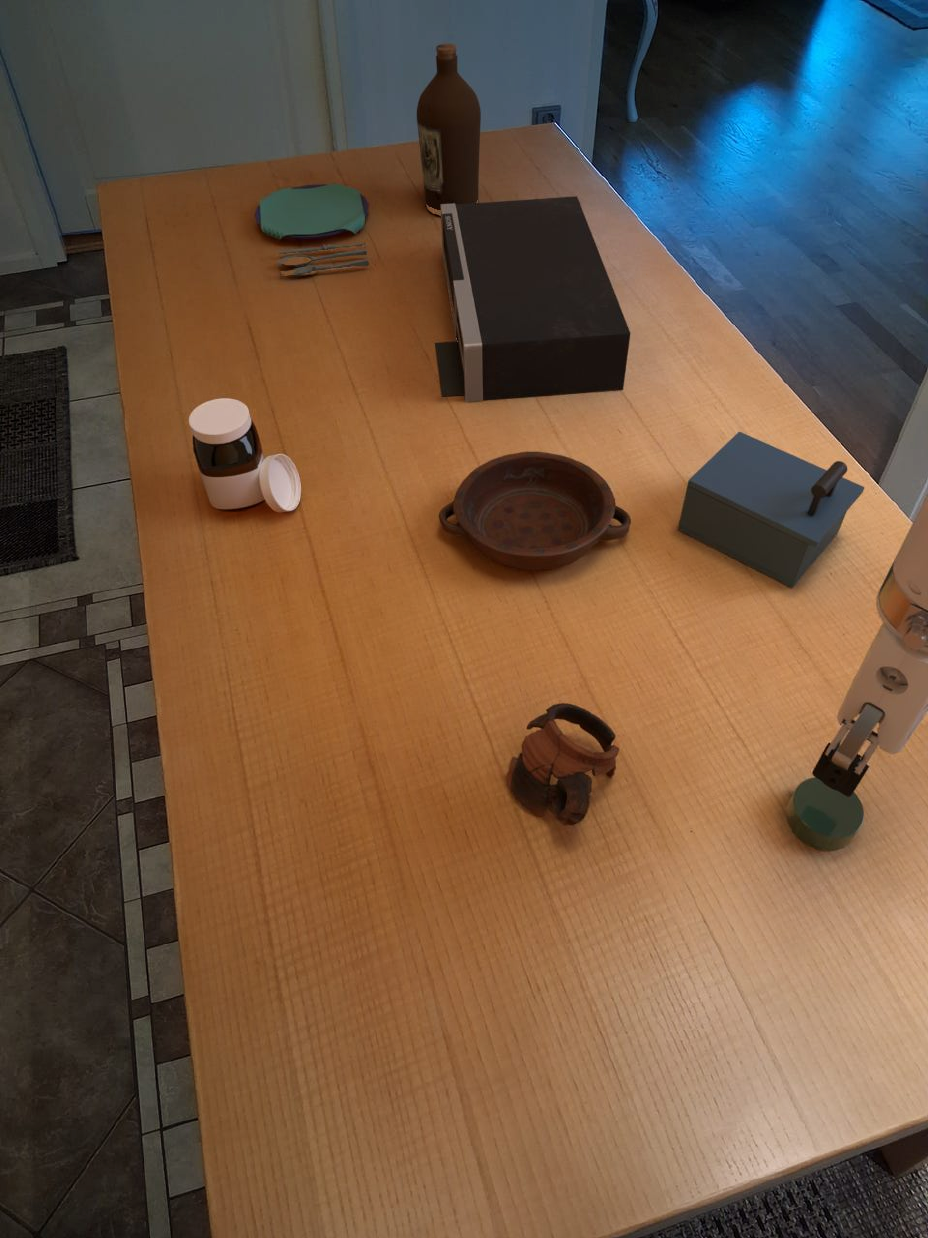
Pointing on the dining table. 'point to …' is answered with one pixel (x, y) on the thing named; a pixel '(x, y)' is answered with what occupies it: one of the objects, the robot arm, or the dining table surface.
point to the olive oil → (449, 134)
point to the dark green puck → (824, 815)
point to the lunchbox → (749, 538)
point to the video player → (528, 303)
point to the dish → (534, 510)
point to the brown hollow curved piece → (560, 764)
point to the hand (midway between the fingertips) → (859, 743)
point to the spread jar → (239, 460)
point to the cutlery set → (314, 219)
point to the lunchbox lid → (778, 487)
